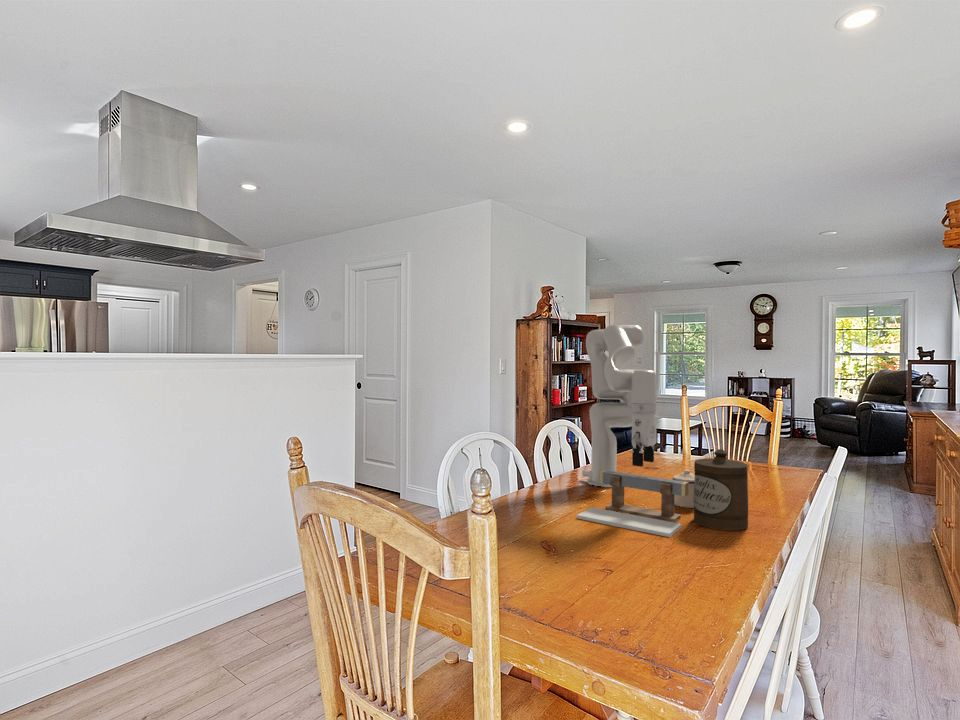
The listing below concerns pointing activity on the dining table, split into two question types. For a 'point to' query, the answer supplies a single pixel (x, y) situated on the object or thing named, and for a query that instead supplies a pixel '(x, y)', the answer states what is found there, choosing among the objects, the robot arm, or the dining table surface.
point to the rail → (645, 482)
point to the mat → (630, 521)
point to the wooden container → (721, 493)
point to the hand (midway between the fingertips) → (643, 463)
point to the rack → (664, 514)
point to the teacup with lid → (689, 499)
